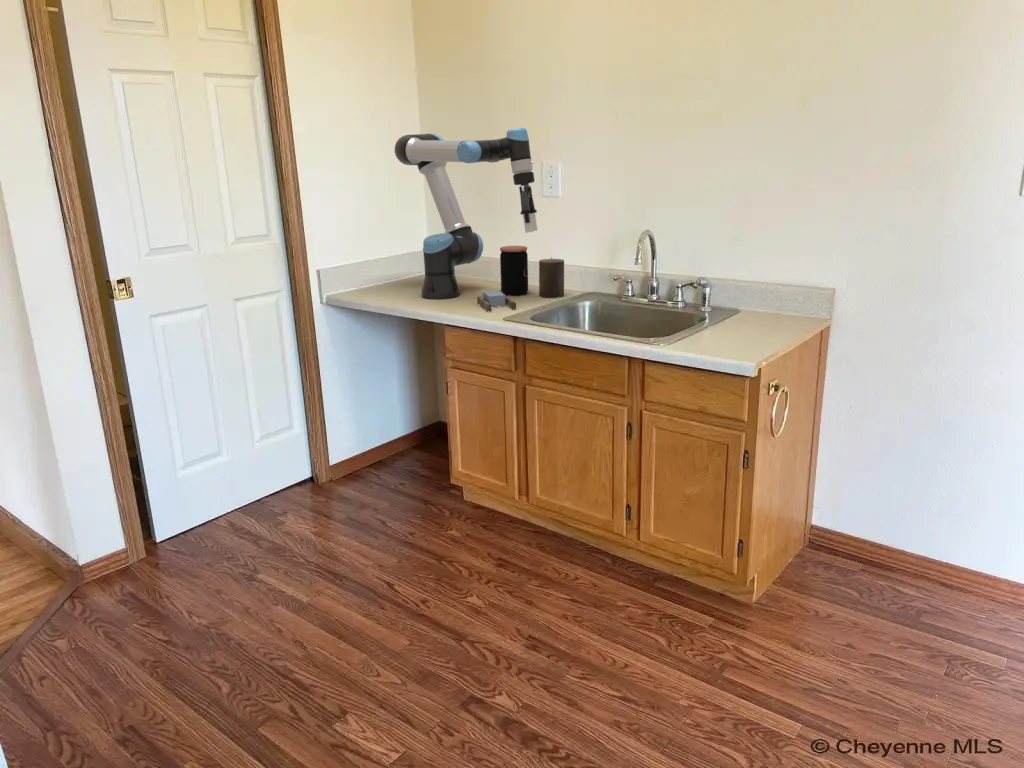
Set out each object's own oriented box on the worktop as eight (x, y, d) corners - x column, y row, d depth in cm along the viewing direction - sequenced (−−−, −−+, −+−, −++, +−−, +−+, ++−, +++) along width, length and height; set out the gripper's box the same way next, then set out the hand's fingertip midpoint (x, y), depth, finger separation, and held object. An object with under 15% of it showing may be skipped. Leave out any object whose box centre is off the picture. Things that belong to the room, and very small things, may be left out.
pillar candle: (555, 299, 298) (555, 259, 293) (534, 296, 303) (533, 257, 299) (569, 295, 305) (569, 256, 301) (548, 292, 311) (548, 254, 306)
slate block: (483, 303, 295) (482, 291, 293) (498, 302, 296) (498, 290, 295) (489, 308, 287) (489, 296, 285) (505, 307, 288) (505, 295, 287)
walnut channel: (477, 303, 295) (477, 296, 294) (504, 300, 297) (503, 294, 297) (488, 312, 280) (488, 305, 279) (516, 309, 283) (516, 302, 282)
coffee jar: (529, 295, 306) (528, 249, 300) (502, 296, 305) (500, 250, 299) (527, 290, 316) (526, 245, 310) (500, 291, 315) (499, 246, 309)
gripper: (528, 169, 272) (537, 231, 276) (537, 172, 296) (545, 228, 300) (507, 173, 273) (517, 234, 278) (517, 175, 298) (526, 232, 302)
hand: (531, 231), depth 289 cm, fingers open, 13 cm apart
